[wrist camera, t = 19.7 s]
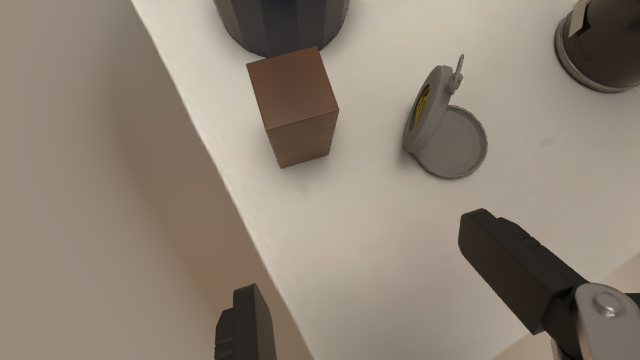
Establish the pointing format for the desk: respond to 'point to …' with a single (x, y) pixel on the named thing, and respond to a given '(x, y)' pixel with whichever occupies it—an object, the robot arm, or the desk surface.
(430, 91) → the pocket watch
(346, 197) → the desk surface
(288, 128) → the block
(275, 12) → the tin
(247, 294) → the robot arm
